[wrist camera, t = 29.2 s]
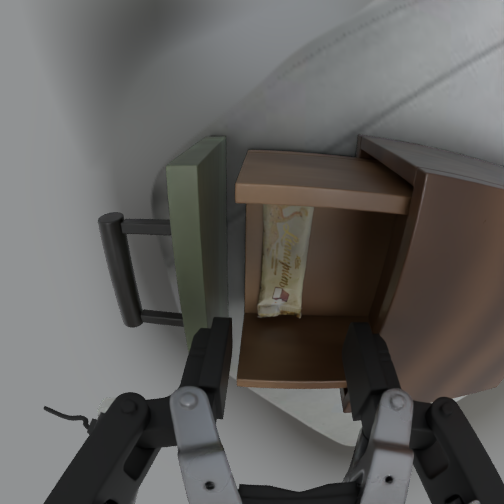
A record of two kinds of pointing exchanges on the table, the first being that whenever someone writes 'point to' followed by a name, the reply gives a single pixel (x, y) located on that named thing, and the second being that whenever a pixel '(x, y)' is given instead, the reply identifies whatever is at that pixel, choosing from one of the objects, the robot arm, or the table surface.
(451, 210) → the cabinet
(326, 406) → the table surface
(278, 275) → the snack bar
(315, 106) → the table surface
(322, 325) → the drawer
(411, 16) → the table surface
